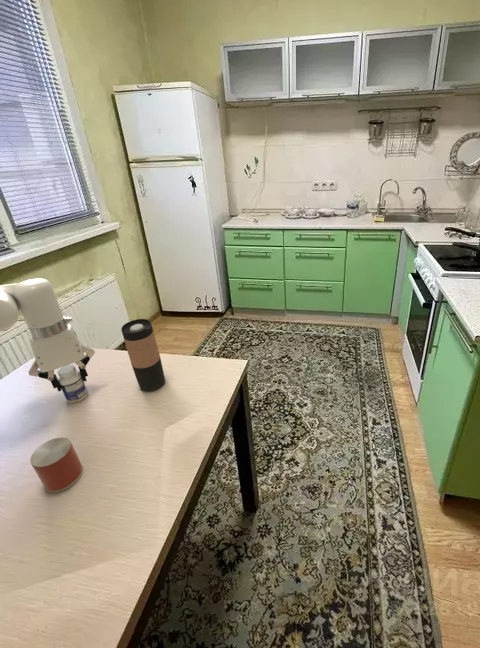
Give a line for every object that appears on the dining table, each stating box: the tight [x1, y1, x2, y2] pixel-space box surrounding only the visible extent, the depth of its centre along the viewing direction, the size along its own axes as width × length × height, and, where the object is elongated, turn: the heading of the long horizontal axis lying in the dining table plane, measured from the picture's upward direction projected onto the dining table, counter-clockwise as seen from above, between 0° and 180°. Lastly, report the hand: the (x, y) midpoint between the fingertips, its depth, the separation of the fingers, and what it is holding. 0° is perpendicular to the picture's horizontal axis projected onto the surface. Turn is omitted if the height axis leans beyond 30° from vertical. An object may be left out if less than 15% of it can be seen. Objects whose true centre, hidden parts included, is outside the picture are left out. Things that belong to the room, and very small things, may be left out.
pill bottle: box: [57, 364, 89, 404], centre depth 89 cm, size 5×5×10 cm
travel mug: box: [120, 318, 166, 393], centre depth 91 cm, size 8×8×20 cm
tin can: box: [30, 436, 84, 494], centre depth 68 cm, size 7×7×8 cm
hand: (72, 383), depth 89 cm, fingers closed on pill bottle, 5 cm apart
